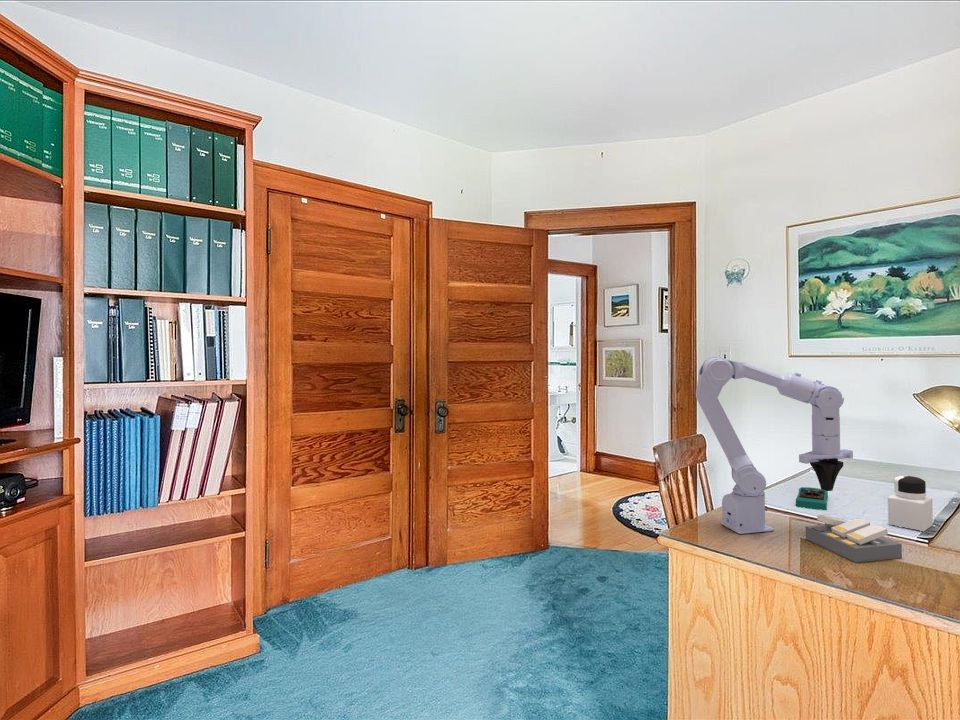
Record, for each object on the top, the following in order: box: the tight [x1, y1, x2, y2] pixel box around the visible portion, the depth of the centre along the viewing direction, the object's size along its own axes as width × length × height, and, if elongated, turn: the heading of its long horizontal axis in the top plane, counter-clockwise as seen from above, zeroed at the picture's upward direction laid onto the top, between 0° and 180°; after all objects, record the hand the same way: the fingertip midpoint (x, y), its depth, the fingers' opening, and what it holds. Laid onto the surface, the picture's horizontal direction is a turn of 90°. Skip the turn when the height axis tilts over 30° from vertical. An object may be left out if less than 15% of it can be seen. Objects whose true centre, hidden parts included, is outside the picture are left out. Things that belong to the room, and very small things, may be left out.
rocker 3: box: [847, 523, 889, 545], centre depth 114 cm, size 7×3×1 cm, turn 98°
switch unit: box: [805, 523, 903, 564], centre depth 118 cm, size 11×14×4 cm
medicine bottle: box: [887, 475, 934, 533], centre depth 130 cm, size 7×7×12 cm
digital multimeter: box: [795, 486, 829, 511], centre depth 152 cm, size 7×15×3 cm, turn 145°
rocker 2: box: [831, 517, 871, 538], centre depth 118 cm, size 7×3×1 cm, turn 98°
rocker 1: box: [816, 514, 849, 526], centre depth 122 cm, size 7×3×1 cm, turn 98°
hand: (826, 489), depth 128 cm, fingers closed
